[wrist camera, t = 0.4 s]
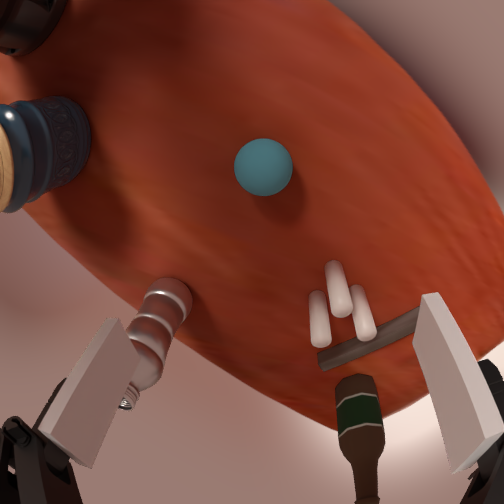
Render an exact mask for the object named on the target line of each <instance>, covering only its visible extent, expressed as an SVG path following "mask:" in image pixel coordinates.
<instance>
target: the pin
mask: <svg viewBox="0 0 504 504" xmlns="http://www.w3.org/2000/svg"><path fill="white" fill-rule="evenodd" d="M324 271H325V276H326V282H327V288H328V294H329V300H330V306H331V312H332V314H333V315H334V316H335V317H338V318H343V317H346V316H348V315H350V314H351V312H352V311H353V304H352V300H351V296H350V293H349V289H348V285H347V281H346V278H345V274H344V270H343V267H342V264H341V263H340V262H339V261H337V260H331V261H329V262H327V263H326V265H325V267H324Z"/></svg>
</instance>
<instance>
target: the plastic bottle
mask: <svg viewBox="0 0 504 504" xmlns="http://www.w3.org/2000/svg"><path fill="white" fill-rule="evenodd" d="M192 303H193V298H192V295H191V292H190V290H189V289H188V287H187V286H186V285H185V284H184V283H183V282H181V281H179V280H177V279H174V278H160V279H158V280H156V281H155V282H154V283H153V284H152V285H151V286H150V287H149V288H148V290H147V292H146V294H145V297H144V300H143V303H142V305H141V307H140V309H139V311H138V313H137V315H136V316H135V318H134V319H133V321H132V322H131V323H130V325H129V326H128V327H127V329H126V330H125V331H126V333H127V335H128V337H129V339H130V340H131V342H132V344H133V346H134V348H135V350H136V351H137V353H138V355H139V357H140V358H141V360H140V362H139V364H138V366H137V368H136V370H135V372H134V374H133V377H132V379H131V381H130V383H129V385H128V387H127V389H126V391H125V394H124V396H123V398H122V400H121V402H120V404H119V407H118V409H120V410H123V411H132V410H133V408H134V406H135V404H136V401H138V399H139V397H140V393H139V392H140V391H143V390H146V389H147V388H150V387H151V386H153V385H155V384H156V383H157V382H158V380H159V379H160V378H161V376H162V373H163V369H164V365H165V360H166V356H167V352H168V350H169V347H170V344H171V342H172V339H173V336H174V335H175V333H176V331H177V330H178V328H179V326H180V325H181V323H182V322H183V321H184V320H185V319H186V318H187V316H188V315H189V313H190V312H191V308H192Z"/></svg>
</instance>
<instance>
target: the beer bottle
mask: <svg viewBox="0 0 504 504" xmlns="http://www.w3.org/2000/svg"><path fill="white" fill-rule="evenodd" d="M335 398H336V410H337V424H338V439H339V446H340V449H341V451H342V453H343V455H344V456H345V457H346V459H347V460H348V461H349V462H350V463H351V466H352V469H353V475H354V483H355V491H356V501H355V502H354V503H355V504H379V501H380V498H379V497H378V480H377V479H378V478H377V466H378V459H379V457H380V456H381V454H382V452H383V449H384V445H385V433H384V427H383V420H382V415H381V409H380V404H379V399H378V394H377V390H376V386H375V383H374V381H373V378H372V377H371V376H368V375H363V374H355V375H352V376H349V377H346V378H343V379H342V381H341V382H340V383H339V384H338V385H337V387H336V388H335Z"/></svg>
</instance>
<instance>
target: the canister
mask: <svg viewBox="0 0 504 504" xmlns="http://www.w3.org/2000/svg"><path fill="white" fill-rule="evenodd" d="M90 147H91V132H90V126H89V122H88V119H87V117H86V114H85V112H84V111H83V109H82V108H81V107H80V105H79V104H78V103H76V102H75V101H74V100H72V99H70V98H66V97H62V96H48V97H45V98H42V99H36V100H29V101H16V102H13V103H11V104H10V105H6V104H0V212H3V213H13V212H16V211H18V210H19V209H20V208H22V206H23V205H24V204H25V203H30V202H33V201H35V200H37V199H38V198H39V197H40V196H41V195H43V194H45V193H47V192H49V191H51V190H52V189H54V188H57V187H61V186H63V185H65V184H67V183H69V182H70V181H71V180H73V179H74V178H75V177H76V176H77V175H78V174H79V173H80V172H81V170H82V169H83V168H84V166H85V164H86V162H87V159H88V156H89V152H90Z"/></svg>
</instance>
